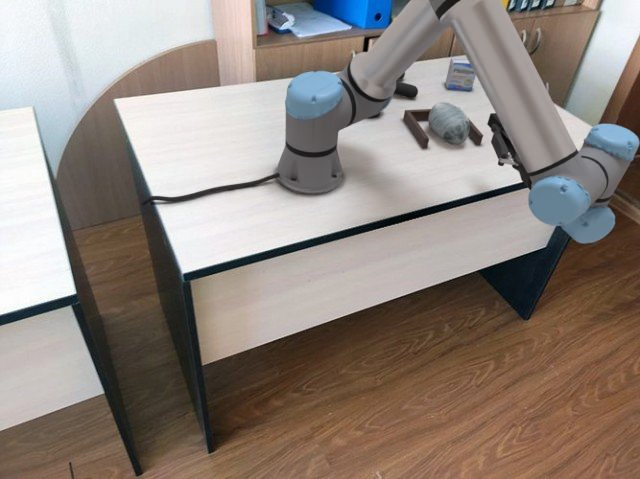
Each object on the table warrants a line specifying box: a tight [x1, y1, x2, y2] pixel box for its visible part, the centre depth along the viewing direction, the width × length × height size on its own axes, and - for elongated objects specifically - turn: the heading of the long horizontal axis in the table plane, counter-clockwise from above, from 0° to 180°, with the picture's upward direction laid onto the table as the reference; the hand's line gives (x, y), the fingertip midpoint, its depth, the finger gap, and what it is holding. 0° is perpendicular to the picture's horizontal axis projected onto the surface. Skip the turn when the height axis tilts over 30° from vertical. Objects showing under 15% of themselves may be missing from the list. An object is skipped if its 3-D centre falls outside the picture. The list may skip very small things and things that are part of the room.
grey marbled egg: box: [427, 101, 470, 146], centre depth 135 cm, size 14×10×10 cm
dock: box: [402, 107, 484, 150], centre depth 139 cm, size 16×16×3 cm
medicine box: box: [444, 57, 477, 92], centre depth 159 cm, size 8×4×9 cm, turn 88°
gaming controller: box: [393, 71, 419, 99], centre depth 157 cm, size 17×6×10 cm
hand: (491, 118), depth 114 cm, fingers closed
